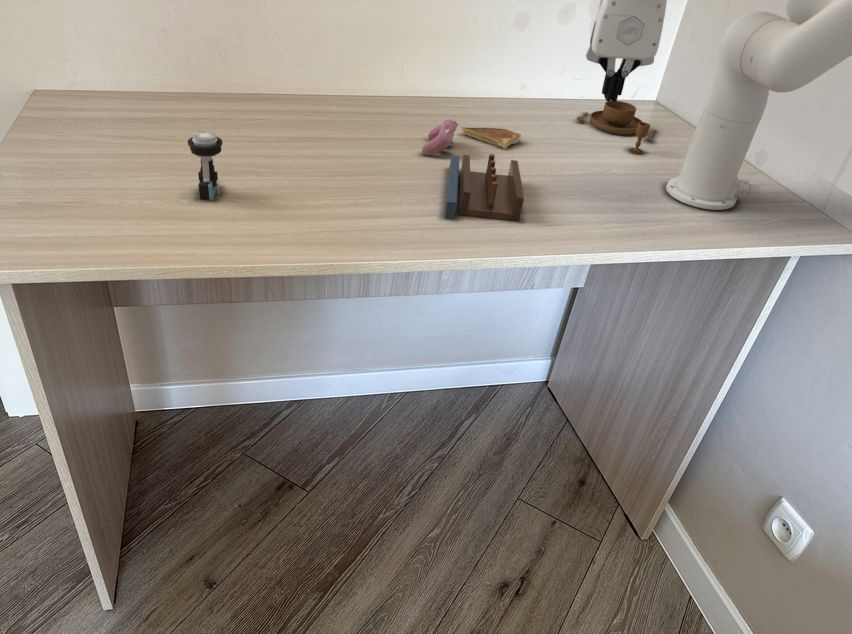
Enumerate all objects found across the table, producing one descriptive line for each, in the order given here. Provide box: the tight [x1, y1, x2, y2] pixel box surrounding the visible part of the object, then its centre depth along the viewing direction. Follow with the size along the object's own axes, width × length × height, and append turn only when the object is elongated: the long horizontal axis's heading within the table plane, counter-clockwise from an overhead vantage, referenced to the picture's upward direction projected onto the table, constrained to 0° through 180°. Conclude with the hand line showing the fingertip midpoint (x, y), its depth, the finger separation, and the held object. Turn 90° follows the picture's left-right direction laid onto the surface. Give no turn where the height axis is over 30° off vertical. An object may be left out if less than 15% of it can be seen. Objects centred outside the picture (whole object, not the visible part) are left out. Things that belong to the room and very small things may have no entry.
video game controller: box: [421, 118, 459, 156], centre depth 136 cm, size 10×5×7 cm, turn 168°
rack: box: [459, 153, 525, 222], centre depth 120 cm, size 10×16×6 cm, turn 175°
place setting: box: [576, 100, 656, 155], centre depth 152 cm, size 18×20×6 cm
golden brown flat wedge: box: [461, 126, 522, 150], centre depth 145 cm, size 11×8×2 cm
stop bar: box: [444, 154, 460, 220], centre depth 121 cm, size 2×20×3 cm, turn 174°
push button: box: [187, 130, 223, 201], centre depth 112 cm, size 7×5×10 cm
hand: (610, 98), depth 115 cm, fingers closed
